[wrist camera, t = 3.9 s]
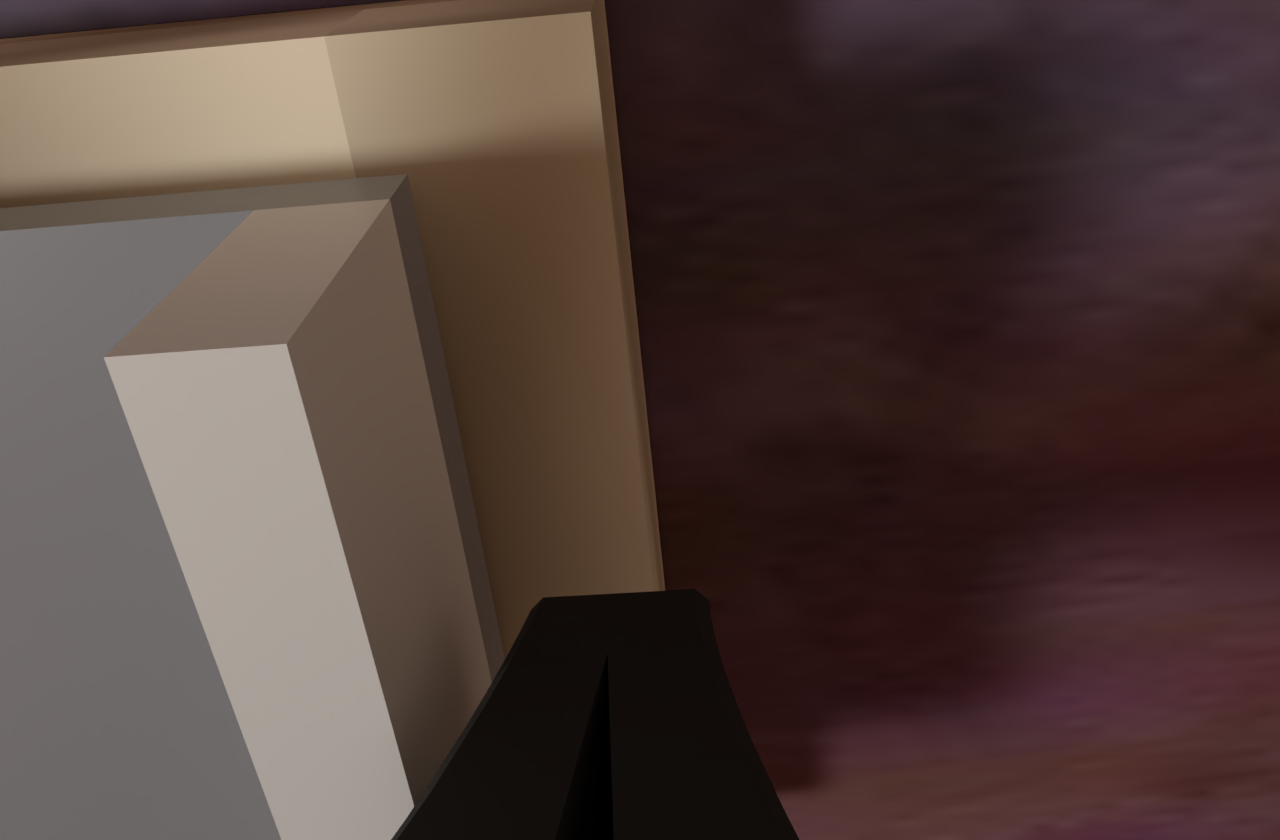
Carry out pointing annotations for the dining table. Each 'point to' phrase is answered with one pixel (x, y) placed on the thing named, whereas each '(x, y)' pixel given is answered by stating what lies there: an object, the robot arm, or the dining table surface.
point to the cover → (230, 519)
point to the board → (446, 215)
